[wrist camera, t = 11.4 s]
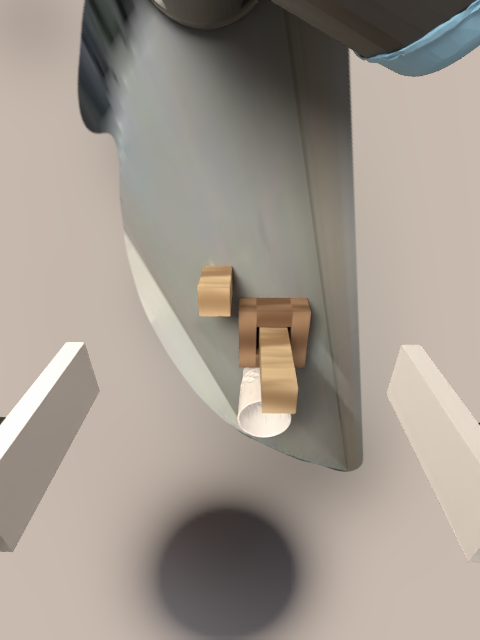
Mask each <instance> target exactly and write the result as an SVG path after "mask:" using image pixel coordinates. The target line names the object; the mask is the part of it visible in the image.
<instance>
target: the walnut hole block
mask: <svg viewBox="0 0 480 640" xmlns="http://www.w3.org/2000/svg"><path fill="white" fill-rule="evenodd" d="M310 318H311V310H310V306H309V303H308V300H307V298H239V367H251V368H260V359H259V339H256V327H288V334H289V339H290V345H291V351H292V356H293V362H294V367H295V368H304V366H305V358H306V350H307V342H308V334H309V326H310Z"/></svg>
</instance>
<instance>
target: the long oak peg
mask: <svg viewBox="0 0 480 640" xmlns="http://www.w3.org/2000/svg"><path fill="white" fill-rule="evenodd" d="M259 359H260V383H261V407H262V413H272V414H296V405H297V396H298V384H297V379H296V373H295V367H294V362H293V356H292V351H291V345H290V339H289V334H288V328H287V327H259Z"/></svg>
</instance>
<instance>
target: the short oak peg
mask: <svg viewBox="0 0 480 640" xmlns="http://www.w3.org/2000/svg"><path fill="white" fill-rule="evenodd" d="M197 292H198V304H199V316H230V314H231V303H232V292H233V289H232V266H204V267H203V271H202V274H201V277H200V281H199V284H198V287H197Z"/></svg>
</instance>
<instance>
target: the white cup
mask: <svg viewBox="0 0 480 640" xmlns="http://www.w3.org/2000/svg"><path fill="white" fill-rule="evenodd" d="M290 423H291V414H272V413H262V407H261V383H260V368H251V367H245V369H244V370H243V376H242V383H241V389H240V397H239V408H238V424H239V426H240V427H241V429H242V430H243V431H245V432H246V433H248V434H250V435H253V436H256V437H272V436H276V435H278V434H280V433H282V432H284V431H285V430H286V429H287V428H288V427H289V425H290Z"/></svg>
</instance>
